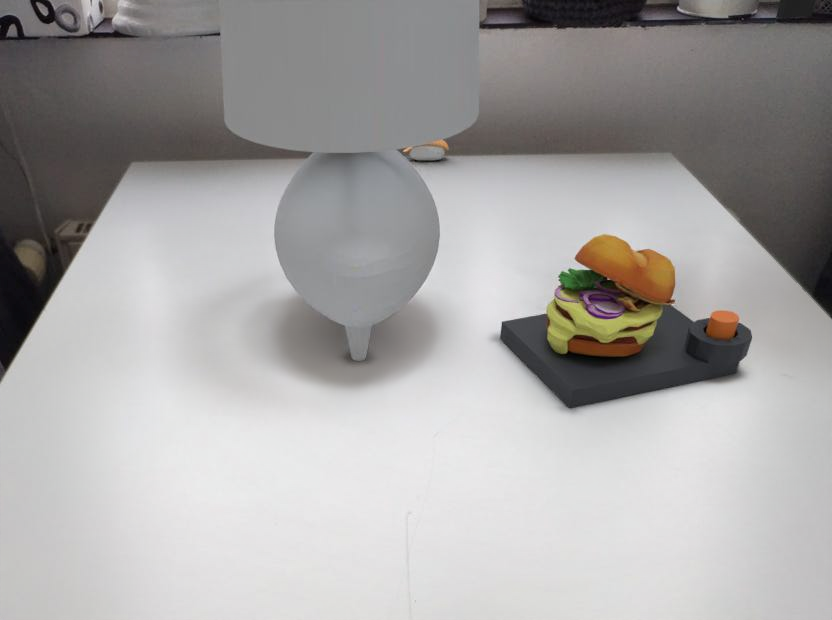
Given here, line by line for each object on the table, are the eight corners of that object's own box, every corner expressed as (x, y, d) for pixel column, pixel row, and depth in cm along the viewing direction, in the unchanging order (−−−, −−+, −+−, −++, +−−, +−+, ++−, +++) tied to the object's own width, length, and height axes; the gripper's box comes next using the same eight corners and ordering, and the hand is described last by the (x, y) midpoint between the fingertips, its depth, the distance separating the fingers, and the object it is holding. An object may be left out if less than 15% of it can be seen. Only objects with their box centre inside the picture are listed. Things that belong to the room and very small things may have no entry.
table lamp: (475, 383, 81) (527, -234, 52) (238, 389, 81) (161, -223, 53) (453, 278, 97) (484, -237, 69) (255, 283, 97) (204, -229, 69)
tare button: (723, 326, 81) (728, 308, 80) (739, 338, 79) (745, 319, 78) (700, 331, 80) (705, 312, 79) (716, 342, 79) (721, 324, 77)
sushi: (448, 162, 124) (449, 138, 122) (402, 162, 125) (403, 138, 123) (448, 156, 126) (449, 132, 124) (402, 156, 127) (403, 133, 124)
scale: (661, 308, 91) (669, 274, 88) (752, 375, 81) (764, 338, 78) (499, 338, 87) (503, 303, 84) (574, 412, 77) (581, 375, 74)
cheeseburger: (514, 330, 84) (547, 217, 78) (597, 331, 89) (635, 225, 83) (581, 374, 77) (624, 255, 71) (667, 373, 82) (713, 262, 76)
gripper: (662, -373, 65) (613, -17, 80) (929, -428, 48) (804, 36, 63) (748, -374, 67) (684, -25, 82) (1035, -428, 50) (889, 24, 65)
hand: (736, 2), depth 73 cm, fingers open, 13 cm apart
